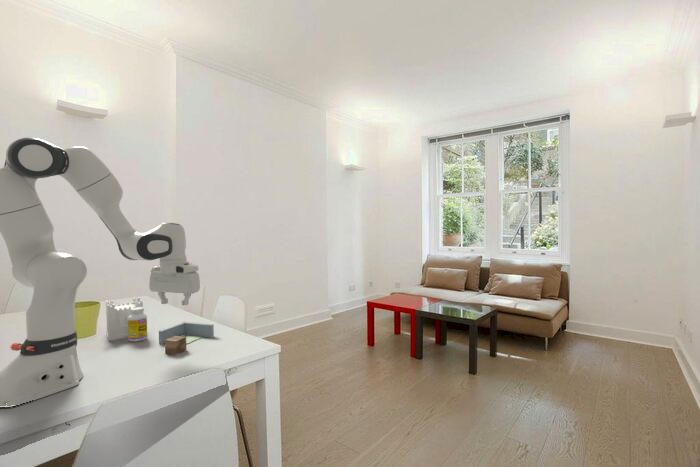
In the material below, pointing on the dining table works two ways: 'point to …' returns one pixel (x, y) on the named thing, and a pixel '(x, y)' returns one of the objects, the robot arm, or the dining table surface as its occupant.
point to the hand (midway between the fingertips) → (174, 304)
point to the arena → (187, 331)
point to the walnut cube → (175, 345)
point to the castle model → (119, 318)
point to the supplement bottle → (137, 325)
